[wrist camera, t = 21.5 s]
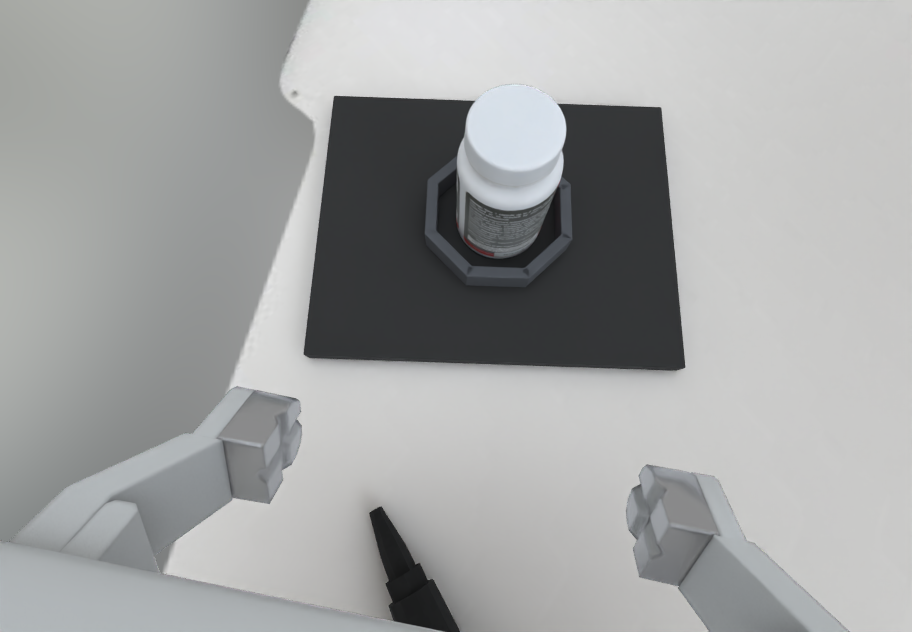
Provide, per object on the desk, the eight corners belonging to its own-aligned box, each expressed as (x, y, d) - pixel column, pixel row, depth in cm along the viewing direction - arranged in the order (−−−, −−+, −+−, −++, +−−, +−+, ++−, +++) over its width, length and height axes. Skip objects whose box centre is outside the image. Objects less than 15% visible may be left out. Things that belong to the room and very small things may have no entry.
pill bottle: (555, 238, 26) (601, 148, 18) (480, 274, 25) (494, 199, 17) (513, 171, 27) (540, 58, 19) (441, 205, 27) (437, 103, 18)
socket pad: (654, 117, 29) (672, 89, 27) (676, 370, 25) (700, 363, 23) (337, 106, 29) (327, 77, 27) (308, 357, 25) (293, 349, 23)
